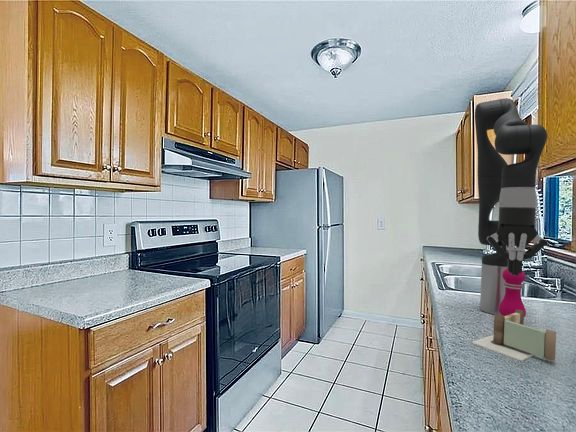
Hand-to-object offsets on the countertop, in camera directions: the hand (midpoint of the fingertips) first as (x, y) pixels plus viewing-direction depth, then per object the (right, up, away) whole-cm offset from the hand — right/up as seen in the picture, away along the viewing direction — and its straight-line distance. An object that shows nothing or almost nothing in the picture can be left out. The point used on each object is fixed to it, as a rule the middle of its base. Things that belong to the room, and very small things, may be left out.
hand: (514, 274), depth 81 cm
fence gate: (+4, -20, +1) cm, 20 cm away
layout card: (+3, -20, +6) cm, 21 cm away
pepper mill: (+15, -21, +23) cm, 34 cm away
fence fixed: (+5, -20, +10) cm, 23 cm away
